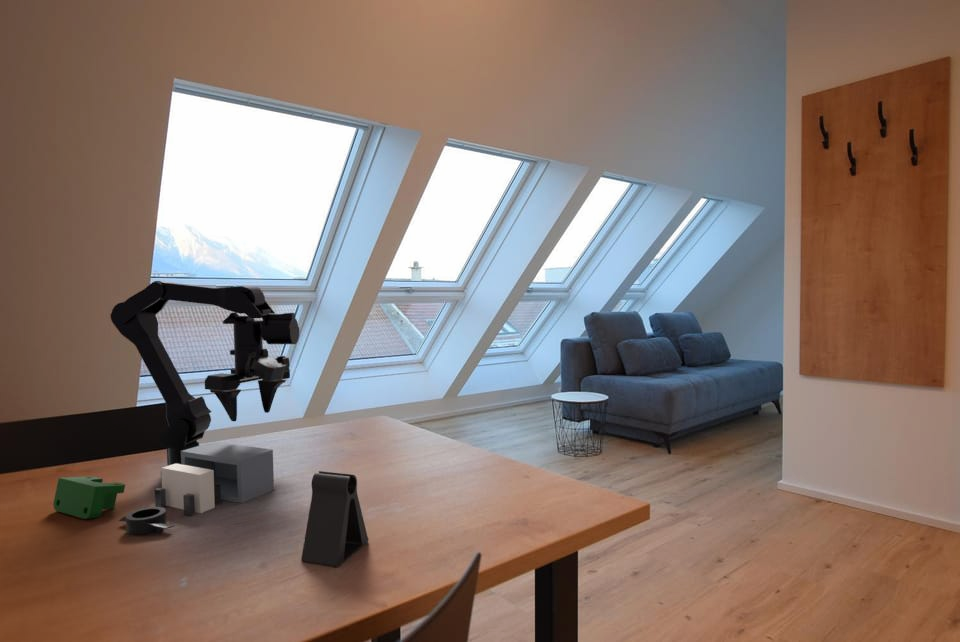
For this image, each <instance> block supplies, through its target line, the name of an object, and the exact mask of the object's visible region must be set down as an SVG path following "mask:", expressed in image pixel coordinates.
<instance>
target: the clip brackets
mask: <svg viewBox="0 0 960 642" xmlns="http://www.w3.org/2000/svg"><path fill="white" fill-rule="evenodd" d="M183 500H184V509H183V515H184V516H187V517H192V516H193V515H196V512H195V503H194V495H193V494H185V495H183ZM214 500H215V506H218V505H221V504H222V499H221V491H220V485H218V484H214ZM154 501H155V502H154V504H155V506H154V507H162V508H165V509H166V508H167V506H166V493H165V489H164V488H162V487H157V488H154Z"/></svg>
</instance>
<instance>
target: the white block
mask: <svg viewBox="0 0 960 642" xmlns="http://www.w3.org/2000/svg"><path fill="white" fill-rule="evenodd" d="M160 469H161V471H160V473H161V472H162V473H161V488H164V489H165V493H166V507H171V508H175V509H180V510H184V500H183V495H185V494H193V495H194V503H195V513H198V514H202V513H205V512H207V511H210V510H212V509H215V508H216V507H215V506H216V505H215V500H214V471H213V470H210V469H204V468H199V467H193V466H188V465H182V464H172V465H169V466H167V465H166V466H162V467H161V468H160Z"/></svg>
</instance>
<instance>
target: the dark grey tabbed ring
mask: <svg viewBox="0 0 960 642" xmlns="http://www.w3.org/2000/svg"><path fill="white" fill-rule="evenodd" d="M166 511H167V509H166V508H162V507H155V506H148V507H142V508H139V509H135V510H133V511H131V512H129V513H127V514H126V515H125V516H123V517H121V518H120V519H119V520H118V522H125V526H126V527H125V528H126V535H128V536H130V537H143V536H145V537H146V536H150V535H152V534H156V533H160V532H162V531H163V530H165V529H169V528H175V525H170V524H167V512H166Z"/></svg>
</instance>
